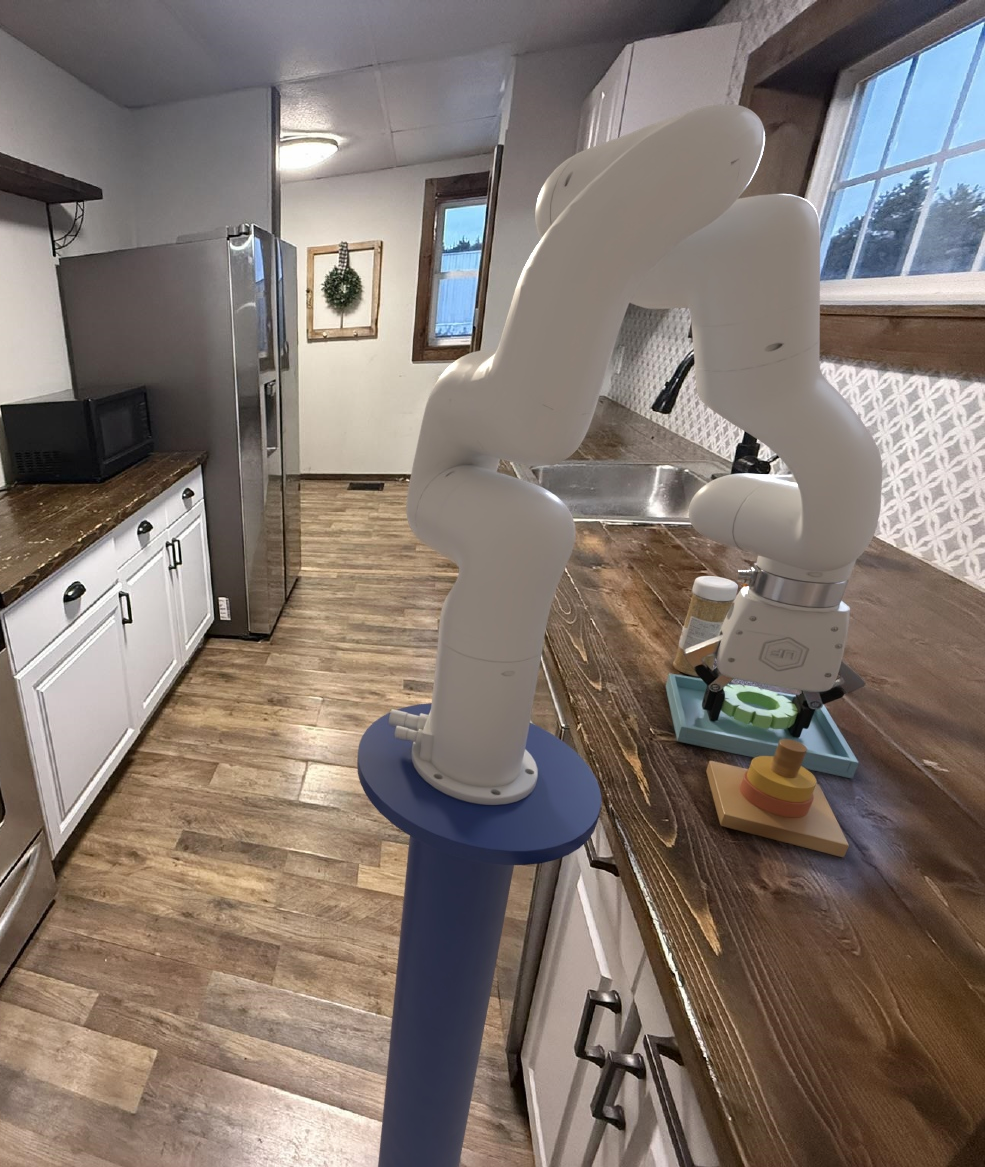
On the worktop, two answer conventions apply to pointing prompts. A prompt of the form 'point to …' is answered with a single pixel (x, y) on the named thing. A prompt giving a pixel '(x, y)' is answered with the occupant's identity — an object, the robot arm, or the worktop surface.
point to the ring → (775, 717)
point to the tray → (755, 731)
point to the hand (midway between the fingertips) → (750, 721)
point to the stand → (777, 800)
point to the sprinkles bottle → (704, 617)
